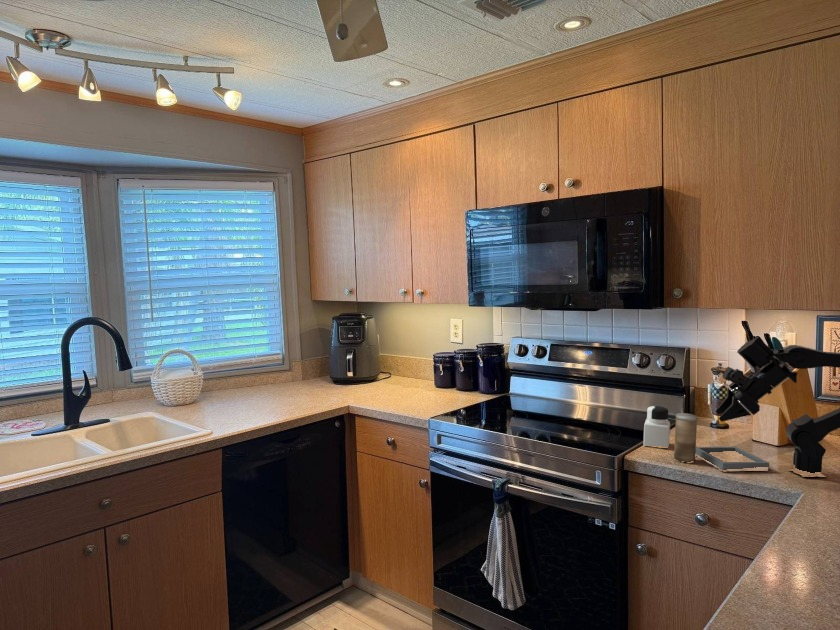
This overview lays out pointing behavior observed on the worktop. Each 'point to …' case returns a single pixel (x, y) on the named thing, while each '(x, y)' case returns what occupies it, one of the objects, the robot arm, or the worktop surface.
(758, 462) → the tray
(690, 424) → the translucent brown jar
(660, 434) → the medicine bottle
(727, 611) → the worktop surface
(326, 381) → the worktop surface
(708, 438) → the worktop surface
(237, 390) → the worktop surface
